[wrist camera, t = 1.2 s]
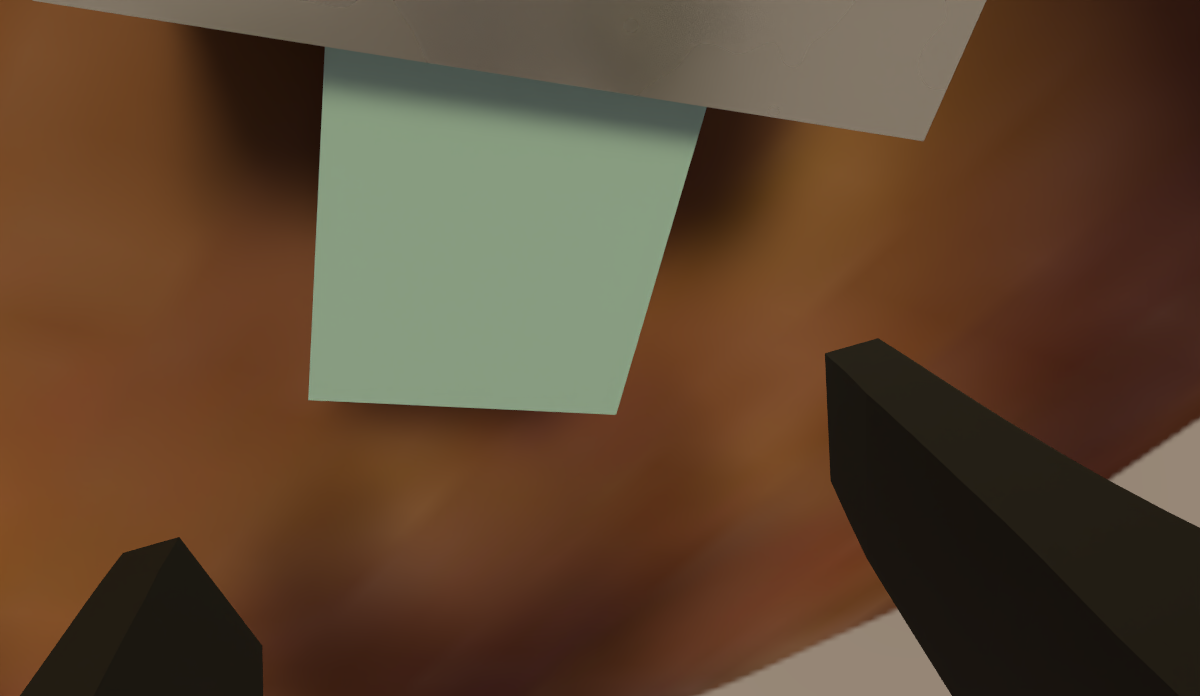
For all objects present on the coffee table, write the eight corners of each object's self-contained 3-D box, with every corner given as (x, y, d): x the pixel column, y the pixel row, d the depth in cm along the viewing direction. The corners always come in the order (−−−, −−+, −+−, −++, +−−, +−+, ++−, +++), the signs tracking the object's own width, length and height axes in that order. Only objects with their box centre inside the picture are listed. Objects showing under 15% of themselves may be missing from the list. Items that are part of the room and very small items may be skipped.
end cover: (701, -301, 14) (828, -304, 10) (569, 271, 19) (616, 414, 15) (360, -403, 12) (347, -457, 8) (325, 248, 18) (308, 400, 14)
